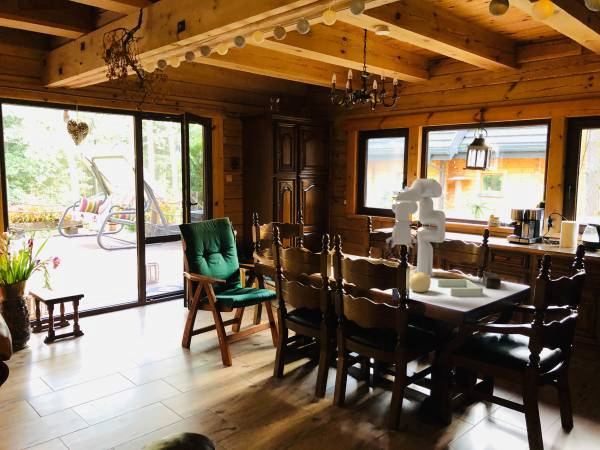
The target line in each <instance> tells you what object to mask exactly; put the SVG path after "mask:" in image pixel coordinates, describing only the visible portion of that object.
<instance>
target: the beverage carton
mask: <svg viewBox="0 0 600 450" xmlns="http://www.w3.org/2000/svg"><path fill="white" fill-rule="evenodd" d="M482 283H483V284H484V287H485V288H486V289H490V290H501V287H502V286H501V284H502V279H501V278H500V277H499V276H498V274H497V273H495V272H488V271H484V272H483V273H482Z"/></svg>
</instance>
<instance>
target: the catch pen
mask: <svg viewBox="0 0 600 450" xmlns="http://www.w3.org/2000/svg"><path fill="white" fill-rule="evenodd" d="M437 287H439V288H440V287H441V288H442V287H446V288H450V290H449V291H450V297H483V295H484V294H483V291H484V290H483V289H484V288H483V287H480V286H479V285H477V284H475V283H474V282H472V281H471V280H468V279H467V278H466V279H465V278H464V279H459V278H458V279H451V278H450V279H441V278H440V279H439V278H438V280H437ZM459 287H460V288H459Z"/></svg>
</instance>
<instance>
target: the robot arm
mask: <svg viewBox="0 0 600 450" xmlns="http://www.w3.org/2000/svg"><path fill="white" fill-rule="evenodd" d="M442 195H443V187H442V185H441V183H440V182H439V181H438V180H436V179H434V178H416V179H415V180H413V182H412V184H411V185H410V187H409V189H408V190H405V191H403V192H401V193H399V194H397V195H396V196H395V198H394V199H393V200H392V204H391V210H392V212H393V213H394V214H395V219H394V222H395V224H394V226H392V227H393V228H392V234H391V236H390V237H388V238H386V239H385V241H386V244H387V245H388V246H389V247H390V254H391V255H392V256H393V255H395V246H396V245H408V252H407V253H408V255H410V256H412V253H413V248H414V246H415V245H416V244H417V262H416V263H417V265H416V268H417V269H416V271H415V272H414V273H418V272H423V273H425V274H427V275H430V276H431V277H435V272H433V259H434V248H433V246H432V244H431V243H444V242H445V239H446V214H445V211H444V210H440V209H439V210H437V209H434V200H433V199H435V198H437V199H439V198H440V197H441V196H442ZM417 202H419V207H418V203H417ZM418 208H419V209H418ZM418 210H419V223H420V224H422V225H426V226H420V227H418V228H417V231H416V238H417V239H416V238H414V237H413V236H412V229H411V226H410V225H412V223H413V222H412V221H410V215H415V213H417V212H418ZM412 240H413V242H412ZM390 241H391V242H390ZM430 242H431V243H430ZM431 277H430V278H431Z"/></svg>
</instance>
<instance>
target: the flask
mask: <svg viewBox="0 0 600 450" xmlns="http://www.w3.org/2000/svg"><path fill="white" fill-rule="evenodd" d="M391 290H392V291H391V300H394V301H400V298H399V294H398V291H397V289H392V288H391ZM409 299H410V290H409V291H408V294H407V298H406V300H409ZM406 300H405V301H406Z"/></svg>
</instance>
